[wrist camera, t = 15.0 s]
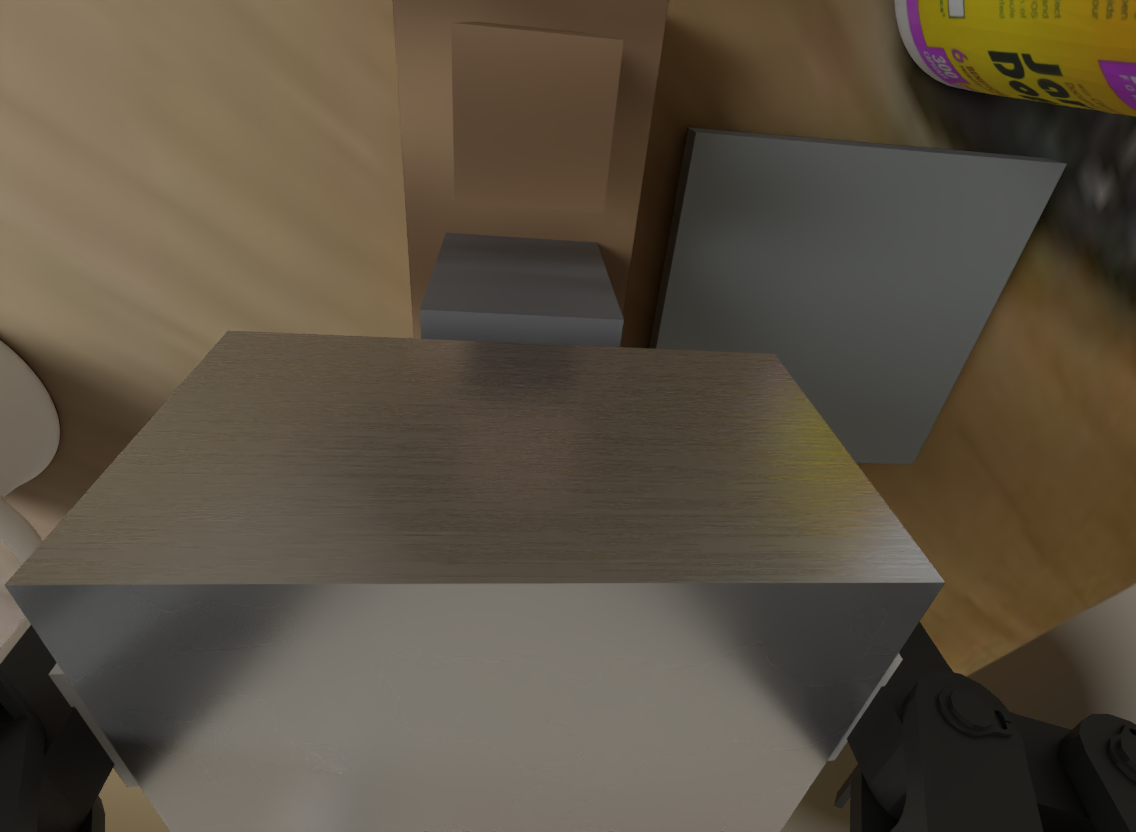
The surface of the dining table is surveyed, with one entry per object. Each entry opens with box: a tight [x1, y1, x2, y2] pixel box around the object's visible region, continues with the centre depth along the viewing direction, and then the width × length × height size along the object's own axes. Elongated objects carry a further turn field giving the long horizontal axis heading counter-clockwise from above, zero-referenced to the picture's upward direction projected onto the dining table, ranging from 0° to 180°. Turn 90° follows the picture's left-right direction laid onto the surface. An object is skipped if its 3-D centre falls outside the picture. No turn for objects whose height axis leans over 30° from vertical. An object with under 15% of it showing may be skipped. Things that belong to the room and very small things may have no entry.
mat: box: [649, 127, 1067, 464], centre depth 22 cm, size 12×12×1 cm
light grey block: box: [5, 331, 945, 832], centre depth 10 cm, size 7×9×5 cm
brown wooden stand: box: [392, 0, 669, 347], centre depth 17 cm, size 26×6×15 cm, turn 175°
